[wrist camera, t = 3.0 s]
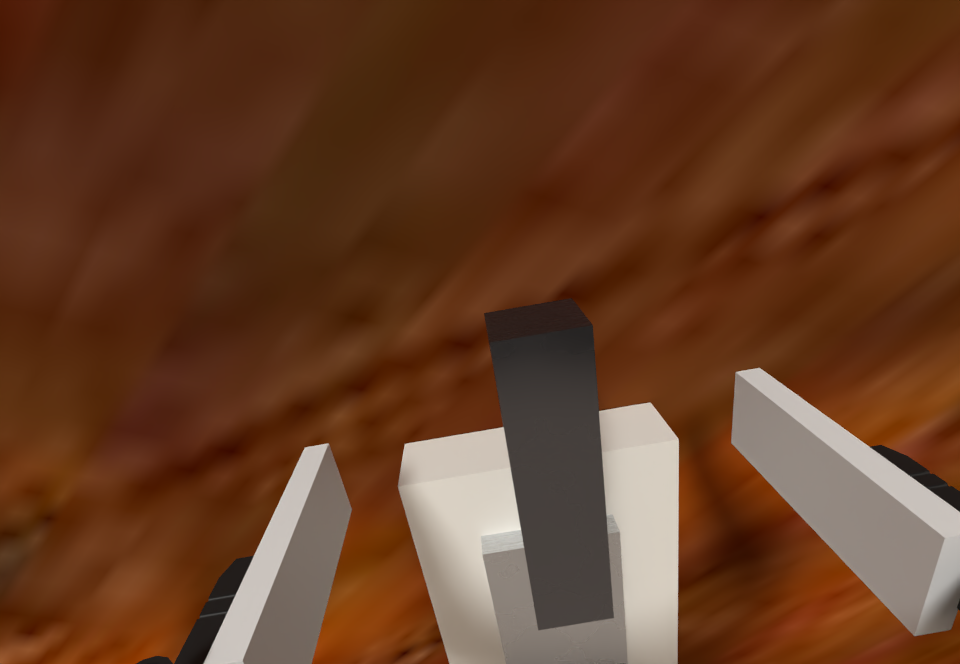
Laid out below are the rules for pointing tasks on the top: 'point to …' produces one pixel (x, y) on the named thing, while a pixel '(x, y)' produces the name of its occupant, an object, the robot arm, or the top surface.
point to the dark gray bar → (553, 495)
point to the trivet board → (492, 509)
